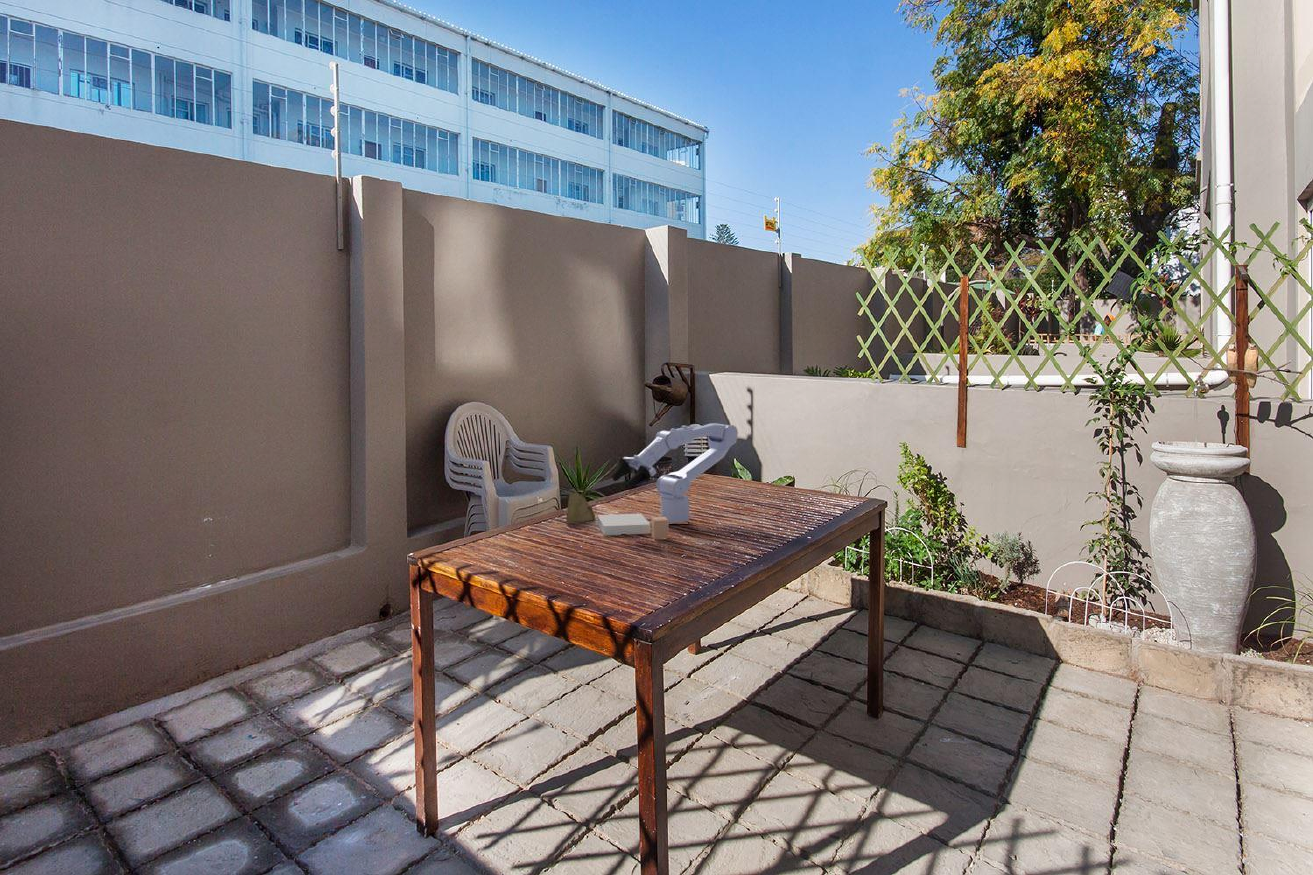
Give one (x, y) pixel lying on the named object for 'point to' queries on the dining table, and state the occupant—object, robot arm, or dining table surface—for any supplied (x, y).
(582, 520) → the rock
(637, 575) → the dining table surface
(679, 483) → the robot arm
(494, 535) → the dining table surface
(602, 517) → the base plinth
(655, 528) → the terracotta block
